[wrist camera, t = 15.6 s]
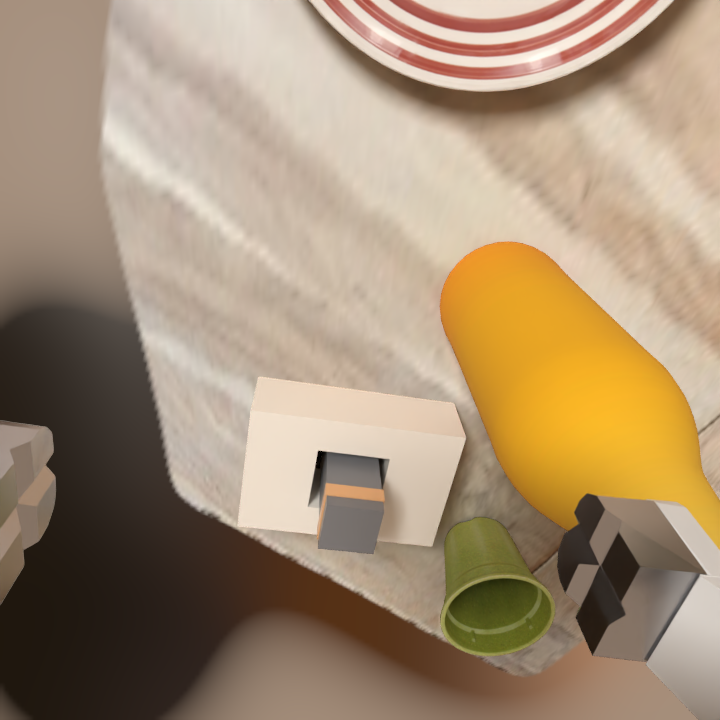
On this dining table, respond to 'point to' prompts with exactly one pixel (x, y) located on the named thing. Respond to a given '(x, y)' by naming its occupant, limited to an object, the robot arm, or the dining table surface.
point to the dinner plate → (488, 37)
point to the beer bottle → (569, 390)
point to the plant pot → (491, 592)
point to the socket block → (348, 436)
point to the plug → (349, 503)
